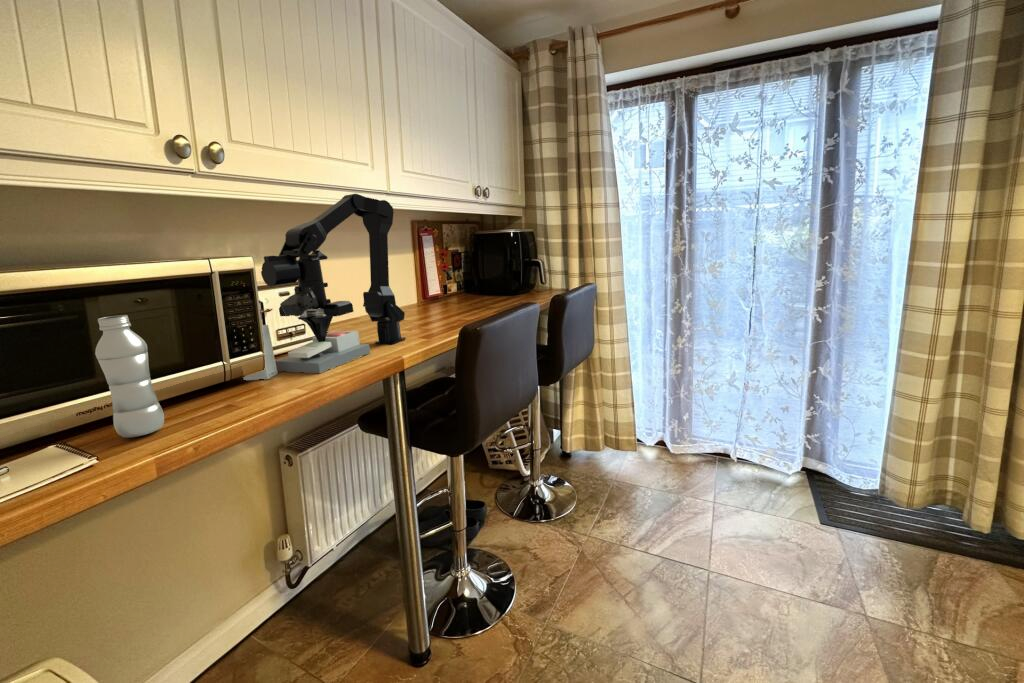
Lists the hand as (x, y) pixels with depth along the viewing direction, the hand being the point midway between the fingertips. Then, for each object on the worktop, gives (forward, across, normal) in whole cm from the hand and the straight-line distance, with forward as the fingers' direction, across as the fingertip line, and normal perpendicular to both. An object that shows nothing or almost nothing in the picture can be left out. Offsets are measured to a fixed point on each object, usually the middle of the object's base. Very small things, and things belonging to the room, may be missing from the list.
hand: (321, 342), depth 119 cm
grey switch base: (+5, 0, 0) cm, 5 cm away
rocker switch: (+1, 0, -4) cm, 4 cm away
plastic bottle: (+4, +2, -44) cm, 44 cm away
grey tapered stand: (+5, -6, -14) cm, 16 cm away
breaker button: (+3, 0, +5) cm, 6 cm away
